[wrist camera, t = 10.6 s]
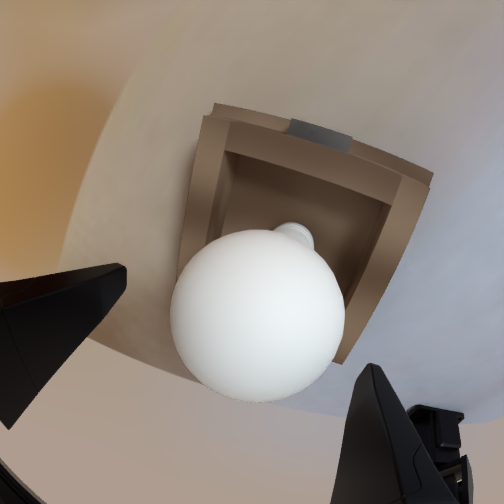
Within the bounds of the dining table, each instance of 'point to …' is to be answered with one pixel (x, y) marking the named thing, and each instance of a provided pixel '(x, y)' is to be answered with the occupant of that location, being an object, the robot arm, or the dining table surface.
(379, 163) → the bulb holder
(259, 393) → the lightbulb
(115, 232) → the dining table surface
